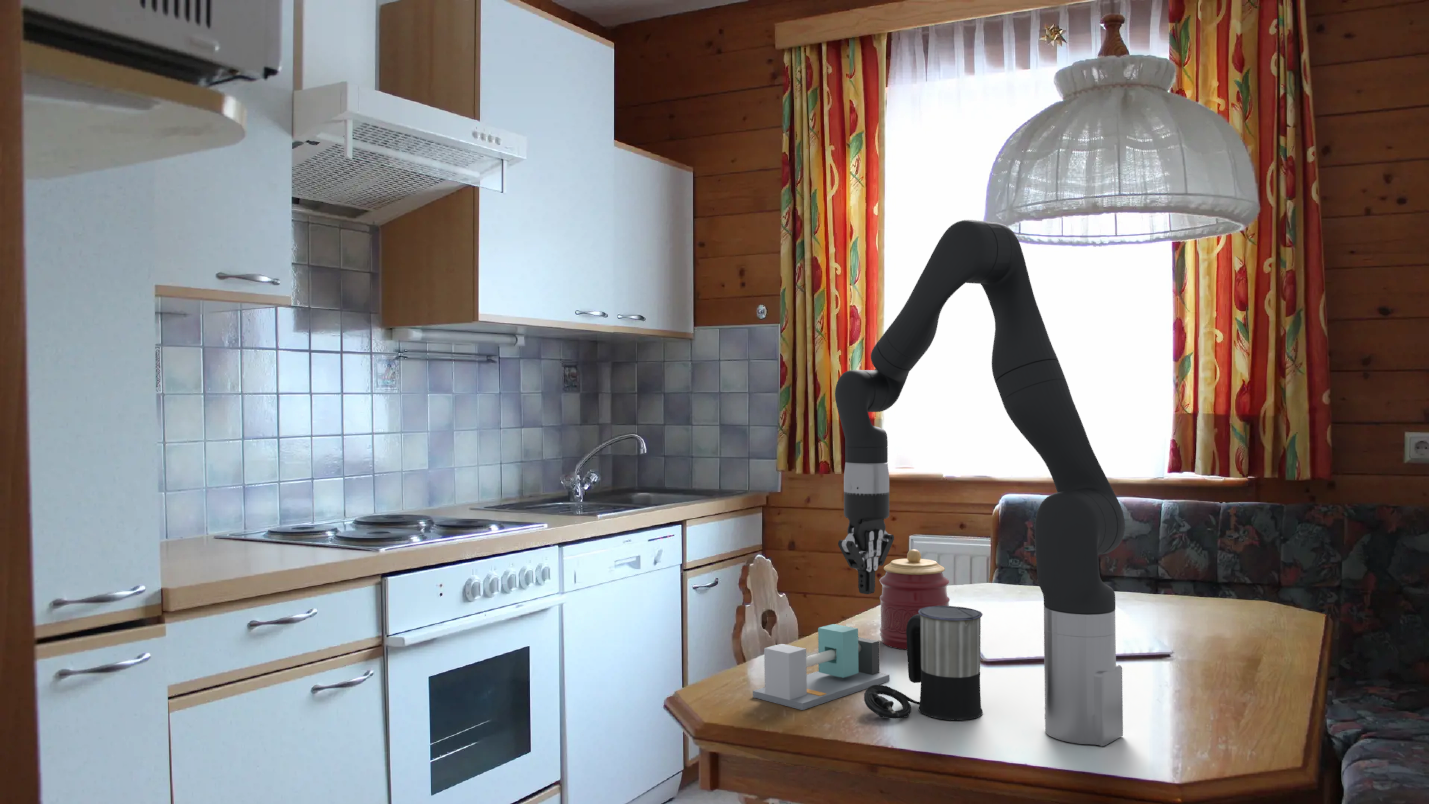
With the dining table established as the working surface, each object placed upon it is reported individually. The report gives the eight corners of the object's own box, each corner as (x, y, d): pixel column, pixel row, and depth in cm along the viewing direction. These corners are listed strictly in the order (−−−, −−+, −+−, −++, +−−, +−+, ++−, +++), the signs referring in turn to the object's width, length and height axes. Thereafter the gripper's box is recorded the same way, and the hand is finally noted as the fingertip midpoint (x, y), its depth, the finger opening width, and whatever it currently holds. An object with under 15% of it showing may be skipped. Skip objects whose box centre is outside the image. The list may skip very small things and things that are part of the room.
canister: (931, 654, 188) (930, 556, 188) (867, 645, 195) (866, 550, 195) (961, 641, 198) (960, 547, 198) (899, 632, 206) (898, 542, 206)
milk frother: (996, 712, 153) (995, 611, 153) (933, 737, 142) (931, 627, 142) (915, 693, 163) (914, 598, 163) (851, 715, 153) (850, 613, 153)
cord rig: (889, 680, 170) (889, 631, 170) (802, 710, 155) (801, 656, 155) (840, 670, 178) (840, 623, 178) (752, 697, 162) (752, 645, 162)
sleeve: (858, 673, 169) (858, 628, 169) (843, 677, 166) (842, 632, 166) (834, 667, 172) (833, 624, 172) (818, 672, 169) (818, 627, 169)
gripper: (860, 493, 167) (861, 602, 167) (908, 488, 177) (908, 590, 177) (823, 490, 173) (824, 595, 173) (871, 485, 182) (872, 585, 182)
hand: (866, 593), depth 175 cm, fingers closed
